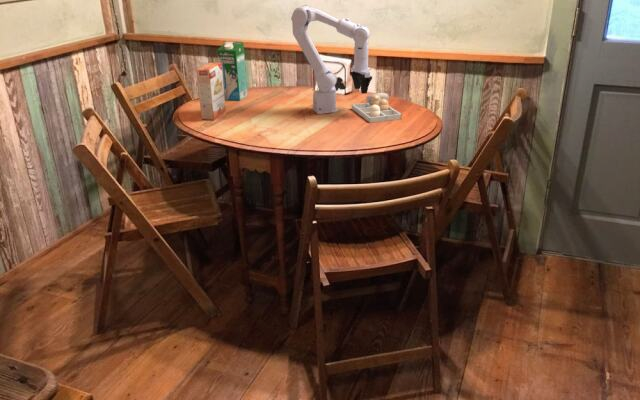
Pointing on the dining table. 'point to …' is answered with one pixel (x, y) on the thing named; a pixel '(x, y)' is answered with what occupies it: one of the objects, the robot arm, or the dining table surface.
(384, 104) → the brown egg
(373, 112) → the cream egg
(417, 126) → the dining table surface
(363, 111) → the egg carton
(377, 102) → the brown egg
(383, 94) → the donut
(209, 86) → the cracker box
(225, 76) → the milk carton
